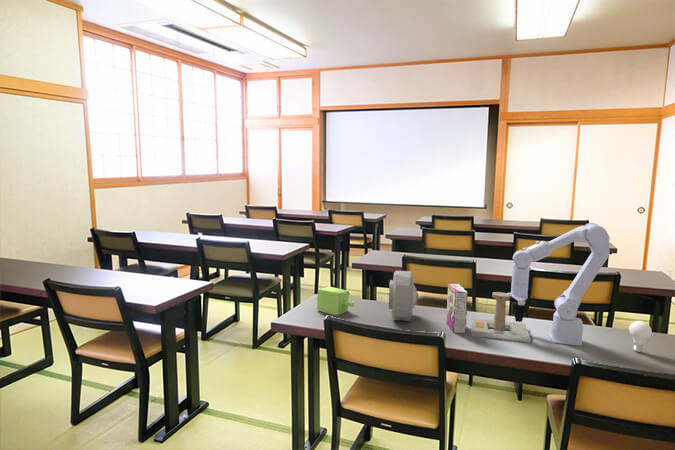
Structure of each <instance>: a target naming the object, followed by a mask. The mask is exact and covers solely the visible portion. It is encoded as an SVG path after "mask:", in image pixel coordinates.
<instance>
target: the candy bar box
mask: <svg viewBox="0 0 675 450" xmlns="http://www.w3.org/2000/svg"><path fill="white" fill-rule="evenodd" d="M446 299H447V303H446V322H445V323H446V324H447V326H448V327H449V329H450V330H451V332H453V334H466V330H467V316H468V315H467V313H468V312H467V311H468V291H467V290H466V289H465V288H464V287H463V286H462V285H461V284H460V283H447V298H446Z"/></svg>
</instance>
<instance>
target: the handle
mask: <svg viewBox="0 0 675 450" xmlns="http://www.w3.org/2000/svg"><path fill="white" fill-rule="evenodd" d="M507 293H508V292H507ZM507 293H506V292H501V291H496V292H495V291H493V292H492V293H491V294H492V298H493V299H495V309H494V316H493V318H494V319H493V320H494V327H495V328H493V330H498V331H505V329H504V326H505V322H506V305H507V304H506V303H507V301H509V300H511V299H510V297H511V296H508V295H507Z"/></svg>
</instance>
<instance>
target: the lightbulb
mask: <svg viewBox="0 0 675 450" xmlns="http://www.w3.org/2000/svg"><path fill="white" fill-rule="evenodd" d="M628 331H629V335H630V336H631V338H632V342H633V351H634V352H636V353H642V352H643V350H644V344H645V343H646V341H647V340H648V339H649V338H650V337H651V335H652V333H653V332H652V331H653V330H652V328H651V326H650V325H649V324H648V323H647V322H645V321H642V320H635V321H633V322H631V324H629V327H628Z"/></svg>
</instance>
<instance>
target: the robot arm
mask: <svg viewBox="0 0 675 450" xmlns="http://www.w3.org/2000/svg"><path fill="white" fill-rule="evenodd" d="M610 239H611V237H610V236H609V234H608V231H607V230H606V228H604V227H603V226H600V225H599V224H598V223H594V222H589V223H585V225H580V226H578V227H576V228H574V229H571V230H570V231H567V232H566V233H563V234H561V235H559V236H558V237H556V238H554V239H552V240H550V241H544V240H541V241H539V240H536V241H534V242H535V243H534V244H533V245H530V246H528V247H522V250H517V251H515V252H514V253H513V256H512V261H513V265H512V272H511V287H510V292H507V295H508V296H511V297H510V299H509V300H510V302H511V310H512V314H513V315H514V321H515V322H516V323H522V322H523V320H524V317H525V314H526V312H527V309H528V308H529V306H530V305H529V304H528V303H525V302H526V300H527V299H528V298H529V297H528V296H529V295H528V291H529V281H530V280H529V279H530V278H529V277H530V271H529V270H530V266H531V264H532V263H535V262H537V261H541V260H542V259H545V258H547V257H549V256H551V254H552V252H553V251H554V250H557V249H559V248H562V247H564V246H566V245H567V246H568V244H572V243H574V242H578V243H579V242H580V243H586V242H587V244H588V246H589V248H590V251H591V253H590V254H589V256H588V257H587V259H586V260H585V262H584V263H583V265H582V266H581V268H580V269H579V271H578V272H577V274H576V276H575V278H574V279H573V281H572V282H571V284H570V285H569V286H568V288H566V290H564V291H563V292H562V294H561V295H559V296H557V297H556V298H555V300H554V302H553V303H554V305H553V306H554V308H555V309H556V310H555V312H554V313H553V319H552V330H551V333H548V336H549V338H550V340H551V342H552V343H554V344H563V345H570V346H572V345H573V346H579V347H581V346H582V345H583V344H582V340H583V330H584V323H583V320H582V318H579V317H577V315H578V309H579V307H580V306H581V302H582V297H583V296H584V295H585V293H586V291H587V290H588V288H589V286H590V285H591V284H592V282H593V281H594V279H595V278H596V277H597V275H598V273H599V272H600V270H601V269H602V267H603V266H604V264H605V263H606V261H607V259H608V258H609V257H610V253H611V252H610Z"/></svg>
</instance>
